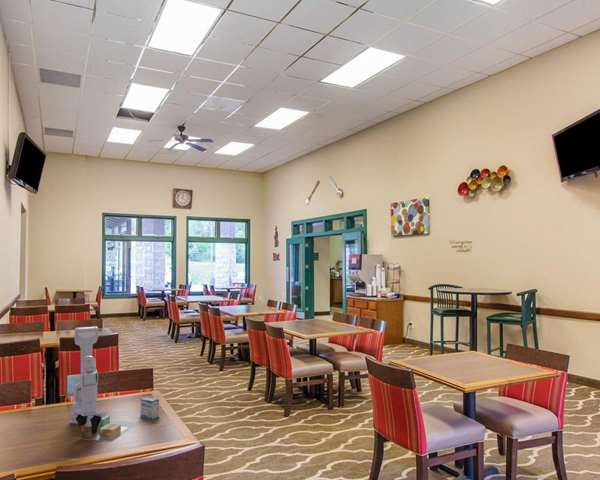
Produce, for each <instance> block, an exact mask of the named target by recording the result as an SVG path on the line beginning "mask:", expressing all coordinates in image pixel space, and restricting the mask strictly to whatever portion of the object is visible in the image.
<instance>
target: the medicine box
mask: <svg viewBox="0 0 600 480" xmlns="http://www.w3.org/2000/svg"><path fill="white" fill-rule="evenodd" d="M140 417H141V418H144V419H148V420H149V419H150V420H154V419H156V418H159V417H160V399H158V398H154V397H150V396H146V397H142V398H141V399H140Z"/></svg>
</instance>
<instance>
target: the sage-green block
mask: <svg viewBox="0 0 600 480" xmlns="http://www.w3.org/2000/svg"><path fill="white" fill-rule="evenodd" d="M110 420H111V416H110V415H106V416H105V417H102V419H101V421H100V423H99V425H98V429H97V430H98V431H100V428H102V427H104V426H105V425H107V424H110Z"/></svg>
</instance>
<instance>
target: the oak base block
mask: <svg viewBox="0 0 600 480" xmlns="http://www.w3.org/2000/svg"><path fill="white" fill-rule="evenodd" d="M120 433H121V425H119V424H107V425H105V426H104V427H102V428H100V437H102V438H114V437H115V436H117V435H118V434H120Z"/></svg>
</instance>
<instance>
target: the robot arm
mask: <svg viewBox="0 0 600 480" xmlns="http://www.w3.org/2000/svg"><path fill="white" fill-rule="evenodd" d="M98 339H99V327H98V325H95V326H82V327H75V328H74V344H75V345H77V346H79V349H80V381H78V382H77V383H76V384H75V385H74V388H73V403H72V404H71V407H70V421H69V423H70V424H78V426H79V430H80V431H81V426H82V425H84V424H86V423H88V422H90V423H91V425H92V434H95V433H97V429H98V425H99V423H100V421H101V419H102V417H105V416H107V411H103V410H100V409H97V404H98V402H97V399H98V383H99V373H98V369H97V363H96V362H97V361H96V358H95V356H93V347H94V344H97V342H98Z"/></svg>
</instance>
